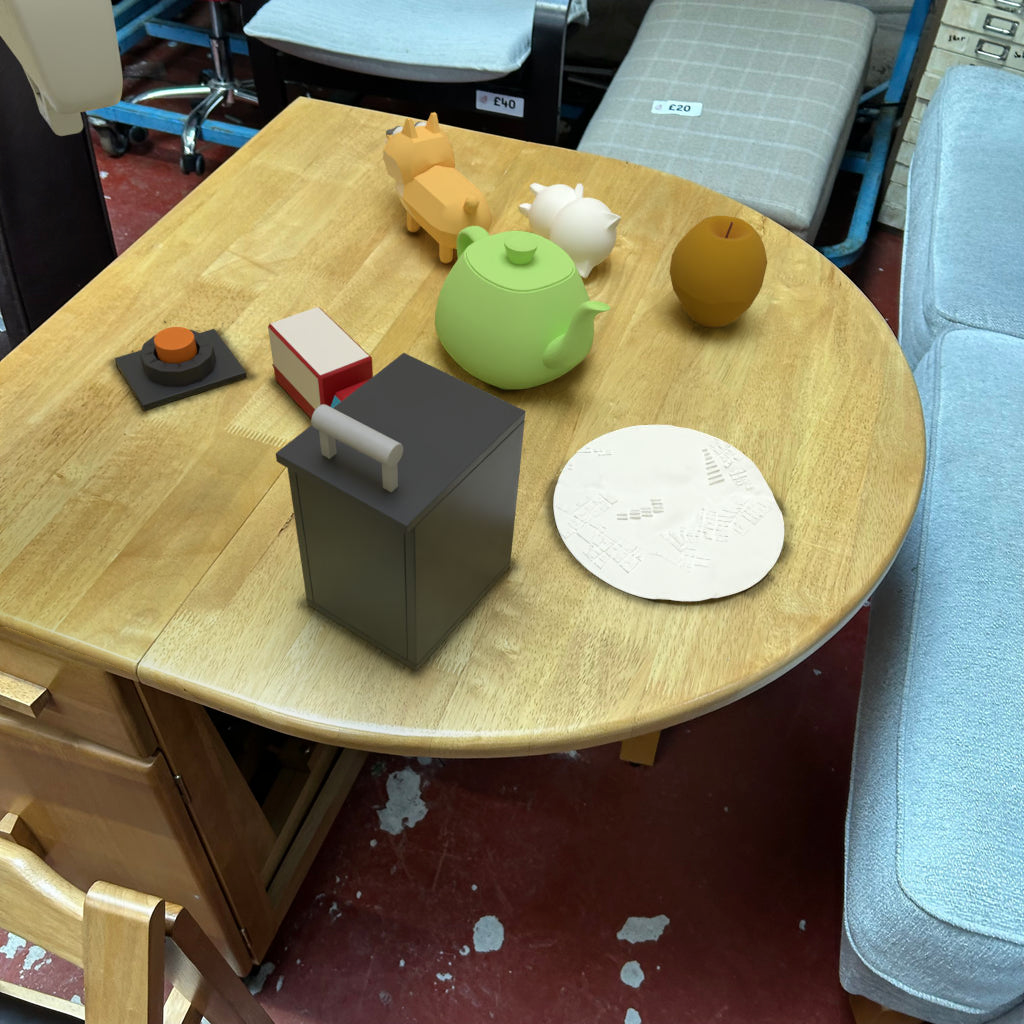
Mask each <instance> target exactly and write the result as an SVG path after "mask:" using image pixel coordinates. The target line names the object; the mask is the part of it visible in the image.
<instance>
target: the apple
mask: <svg viewBox="0 0 1024 1024" xmlns="http://www.w3.org/2000/svg"><path fill="white" fill-rule="evenodd" d="M766 251H767V250H766V248H765V244H764V241H763V239H762V237H761V235H760V233H759V232H758V230H756V229H755V228H754V227H753V225H751V223H748V222H747V221H745V220H744V219H742V218H738V217H734V216H730V215H729V216H728V215H712V216H709V217H705V218H703V219H702V220H701V221H699V222H698V223H697V224H695V225H694V226H692V228H691V229H689V230H688V231H687V233H686V234H685V235H684V236H683V237H682V238H681V239H680V240H679V241H678V242H677V244H676V246H675V248H674V250H673V252H672V254H671V258H670V266H669V276H670V281H671V286H672V290H673V292H674V293H675V295H676V297H677V299H678V300H679V303H680V304H681V307H683V310H684V311H685V313H686V314H687V315H688V316H689V317H690V318H691V319H692V320H693V321H694V322H696V323H697V324H698V325H700V326H702V327H705V328H722V327H723V328H724V327H726V326H728V325H730V324H733V323H734V322H735V321H736V320H738V319H739V318H740V317H741V316H742V315H743V314H745V313H746V311H749V309H750V308H751V306H752V305H753V303H754V302H755V300H756V299H757V297H758V295H759V293H760V291H761V290H762V287H763V284H764V279H765V276H766V271H767V266H768V258H767V252H766Z"/></svg>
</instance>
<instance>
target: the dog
mask: <svg viewBox="0 0 1024 1024" xmlns="http://www.w3.org/2000/svg"><path fill="white" fill-rule="evenodd" d="M385 136H386V137H385V139H384V144H385V145H384V147H383V149H382V157H383V162H384V165H385V169H386V172H387V175H388V176H389V177H391V178H392V179H394V180H395V185H394V190H395V192H396V194H397V196H398V198H399V200H400V203H401V205H402V206H403V208H405V210H406V227H407V230H408V231H409V232H411V233H416V232H418V231H419V229H420V227H421V228H423V230H424V231H426V232H427V233H428V234H429V235H430V236H431V237H432V238H433V239H434V240H435V242H437V243H438V244H439V247H438V250H439V252H438V257H439V261H440V262H441V263H442V264H445V265H446V264H449V263H451V262H453V261H452V260H453V257H454V255H453V254H454V250H457V236H458V234H459V232H460V231H461V230H463V229H464V228H467V227H470V226H479V227H482V228H483V229H485V230H486V231H487V232H488V233H489V231H490V229H491V227H492V225H493V214H492V211H491V208H490V206H489V203H488V201H487V198H486V196H485V194H484V193H483V192H482V190H480V188H478V187H477V186H476V185H474V184H473V183H472V182H471V181H470V180H469V179H467V177H465V176H464V175H463V174H462V173H460V172H459V171H458V170H457V169H456V157H455V152H454V147H453V145H452V143H451V142H450V140H449V137H448V136H447V134H446V132H445V131H444V130H443V129H442V128H440V124H439V119H438V114H437V113H436V112H435V111H434V112H430V114H429V117H428V119H427V121H417V122H416V123H415V124H414V121H413V118H412V117H406V118H405V121H404V123H403V126H401V125H396V126H395V127H394V128H389V129H386V132H385Z"/></svg>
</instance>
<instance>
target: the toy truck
mask: <svg viewBox="0 0 1024 1024" xmlns="http://www.w3.org/2000/svg"><path fill="white" fill-rule="evenodd" d="M267 330H268V338H269V345H270V352H271V358H272V367H273V372H274V373H273V374H274V379H275V381H276V382H277V383H278V384H279V385H280V386H281V387H282V388H283V389H284V391H285V392H286V393H287V394H288V395H289V396H290V397H291V398H292V399H293V401H295V403H296V404H297V405H298V406H299V407H300V408H301V409H302V410H303V411H304V412H305V413H306V415H307V416H308V417H309V418H310V419H311V418H312V415H313V413H314V411H315V410H316V408H317V407H319V406H320V405H323V404H325V405H327V406H329V407H331V408H334V407H335V406H336V405H338V404H339V403H340V402H341V401H343V400H344V399H345V398H347V397H348V396H349V395H350V394H352V393H353V392H354V391H356V390H357V389H358V388H359V387H361V386H362V385H363V384H364V383H366V382H367V381H368V380H370V379H371V378H372V377H373V376H374V372H373V357H372V356H371V355H370V354H369V353H368V352H367V351H366V350H365V349H364V348H363V347H362V346H361V345H360V344H359V343H358V342H356V341H355V340H354V339H353V337H351V336H350V335H349V334H348V333H347V332H346V331H345V330H344V329H343V328H342V327H341V326H340V325H339V324H338V323H337V322H335V320H334V319H332V318H331V316H330V315H329V314H328V313H326V312H325V311H324V310H323V309H322V308H321V307H319V306H316V307H312V308H310V309H307V310H304V311H302V312H298V313H295V314H293V315H290V316H288V317H284V318H282V319H280V320H276V321H273V322H270V323H269V324H268V326H267Z"/></svg>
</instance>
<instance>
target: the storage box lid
mask: <svg viewBox="0 0 1024 1024" xmlns="http://www.w3.org/2000/svg"><path fill="white" fill-rule="evenodd" d="M524 420H526V410H525V409H523V408H521V407H518V406H516V405H514V404H512V403H510V402H508V401H507V400H504V399H502V398H501V397H498V396H495V395H493V394H491V393H490V392H487V391H485V390H483V389H481V388H478V387H477V386H474V385H472V384H470V383H468V382H466V381H464V380H462V379H460V378H458V377H456V376H453V375H451V374H450V373H448V372H445V371H443V370H441V369H439V368H437V367H435V366H433V365H431V364H429V363H427V362H424V361H422V360H420V359H418V358H416V357H414V356H412V355H410V354H408V353H406V352H402V353H401V354H400V355H399V356H397V357H396V358H395V359H393V360H392V361H391V362H389V364H387V365H386V366H384V368H382V369H381V370H380V371H378V372H377V373H375V375H373V377H372V378H371V379H370V380H368V381H367V382H366V383H364V384H363V385H362V386H361V387H359V388H358V389H357V390H356V391H354V392H353V393H352V394H350V395H349V396H348V397H347V398H345V399H344V400H343V401H341V402H340V403H339V404H338V405H336V406H335V407H334V408H331V407H329V406H327V405H325V404H323V405H320V406H319V407H317V408H316V410H315V411H314V413H313V415H312V418H310V423H311V424H310V425H309V426H308V427H307V428H306V429H304V430H303V431H302V432H301V433H299V434H298V435H296V436H295V437H294V438H293V439H291V440H290V441H289V442H288V443H286V444H285V445H284V446H283V447H281V448H280V449H279V450H278V451H276V453H275V460H276V463H278V464H280V465H281V466H283V467H286V468H289V469H291V470H292V471H294V472H296V473H298V474H300V475H301V476H303V477H305V478H307V479H308V480H310V481H312V482H314V483H316V484H317V485H319V486H321V487H323V488H325V489H326V490H328V491H330V492H332V493H334V494H335V495H337V496H339V497H341V498H343V499H344V500H346V501H348V502H350V503H352V504H353V505H355V506H357V507H359V508H360V509H362V510H364V511H366V512H368V513H369V514H371V515H373V516H375V517H377V518H378V519H380V520H382V521H384V522H386V523H387V524H389V525H391V526H393V527H395V528H396V529H398V530H400V531H402V532H403V533H405V534H407V533H408V532H409V531H410V530H412V529H413V528H414V527H415V526H416V525H417V524H418V523H419V522H420V521H421V520H422V519H423V518H424V517H425V516H426V515H427V514H428V513H429V512H430V511H431V510H432V509H433V508H434V507H435V506H436V505H437V504H438V503H439V502H440V501H441V500H442V499H443V498H444V497H445V496H446V495H447V494H449V493H450V492H451V491H452V490H453V489H454V488H455V487H456V486H457V485H458V484H459V483H460V482H461V481H462V480H463V479H464V478H465V477H466V476H467V475H468V474H469V473H470V472H471V471H472V470H473V469H474V468H475V467H476V466H477V465H478V464H479V463H480V462H481V461H482V460H483V459H485V458H486V457H487V456H488V455H489V454H490V453H491V452H492V451H493V450H494V449H495V448H496V447H497V446H498V445H499V444H500V443H501V442H502V441H503V440H504V439H505V438H506V437H507V436H508V435H509V434H510V433H511V432H512V431H513V430H514V429H515V428H516V427H517V426H518V425H519V424H520V423H522V422H523V421H524Z"/></svg>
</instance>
